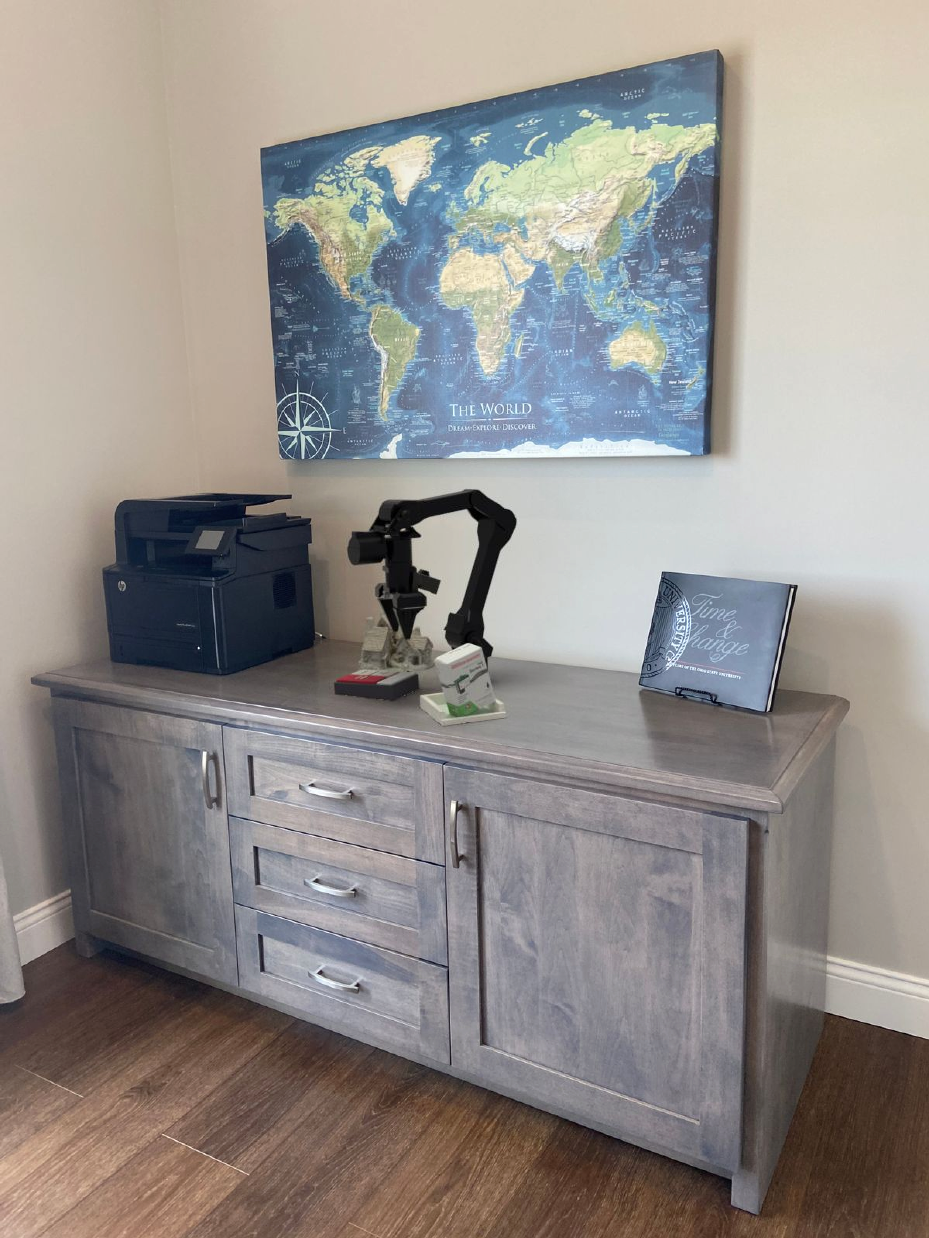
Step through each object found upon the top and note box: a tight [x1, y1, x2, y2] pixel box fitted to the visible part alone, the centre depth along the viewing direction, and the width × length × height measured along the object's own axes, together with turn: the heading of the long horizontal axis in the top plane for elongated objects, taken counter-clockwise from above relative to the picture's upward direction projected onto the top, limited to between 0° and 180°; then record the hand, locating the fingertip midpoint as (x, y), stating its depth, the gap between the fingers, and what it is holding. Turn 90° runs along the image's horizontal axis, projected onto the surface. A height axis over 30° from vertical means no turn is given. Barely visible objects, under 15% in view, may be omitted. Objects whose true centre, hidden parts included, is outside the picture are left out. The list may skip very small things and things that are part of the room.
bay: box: [419, 692, 507, 727], centre depth 184 cm, size 13×14×2 cm
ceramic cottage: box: [356, 607, 434, 673], centre depth 221 cm, size 16×16×15 cm
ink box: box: [433, 643, 497, 717], centre depth 180 cm, size 9×5×12 cm, turn 122°
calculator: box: [333, 669, 420, 702], centre depth 201 cm, size 11×4×15 cm
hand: (401, 635), depth 195 cm, fingers open, 9 cm apart
